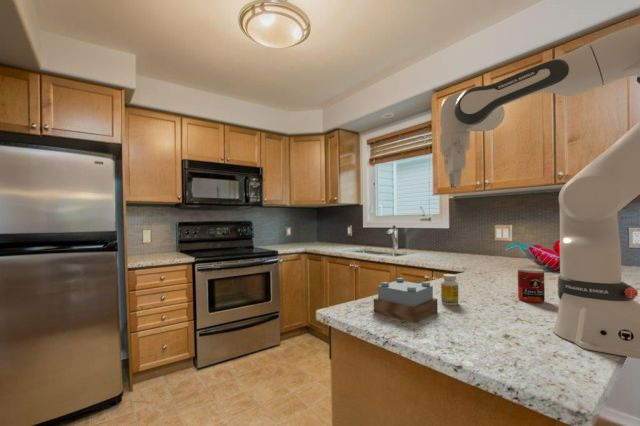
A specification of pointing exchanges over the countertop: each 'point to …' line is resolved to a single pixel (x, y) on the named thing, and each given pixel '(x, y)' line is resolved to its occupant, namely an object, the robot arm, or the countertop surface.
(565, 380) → the countertop surface
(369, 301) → the countertop surface
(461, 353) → the countertop surface
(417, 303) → the top brick
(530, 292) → the canned food
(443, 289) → the supplement bottle
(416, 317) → the base brick
